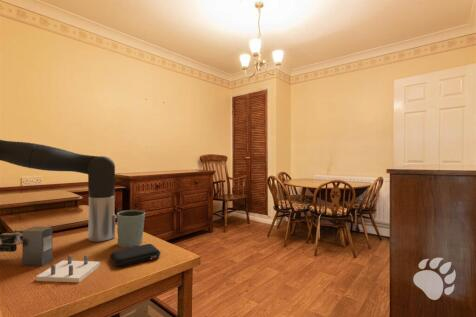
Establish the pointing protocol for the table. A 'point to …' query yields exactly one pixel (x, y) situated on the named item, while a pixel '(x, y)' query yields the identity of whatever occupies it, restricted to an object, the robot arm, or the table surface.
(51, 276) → the white peg board
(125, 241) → the green cup
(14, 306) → the table surface
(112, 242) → the table surface
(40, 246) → the block
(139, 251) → the carrying case or bag
